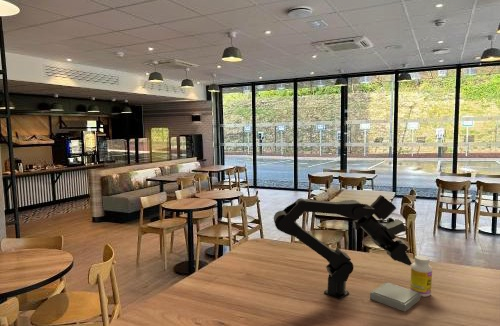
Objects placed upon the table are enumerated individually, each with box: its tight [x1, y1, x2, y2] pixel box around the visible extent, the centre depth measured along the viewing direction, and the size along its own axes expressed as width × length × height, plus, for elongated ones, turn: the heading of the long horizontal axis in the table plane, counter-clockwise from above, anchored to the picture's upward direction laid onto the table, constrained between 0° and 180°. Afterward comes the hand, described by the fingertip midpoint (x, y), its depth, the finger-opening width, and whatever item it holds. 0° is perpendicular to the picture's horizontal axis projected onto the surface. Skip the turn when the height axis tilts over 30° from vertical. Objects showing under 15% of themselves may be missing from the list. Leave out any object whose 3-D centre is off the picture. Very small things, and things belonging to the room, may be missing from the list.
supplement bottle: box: [409, 254, 433, 298], centre depth 126 cm, size 7×7×13 cm
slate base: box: [369, 281, 422, 312], centre depth 122 cm, size 12×12×2 cm
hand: (404, 259), depth 126 cm, fingers open, 9 cm apart
